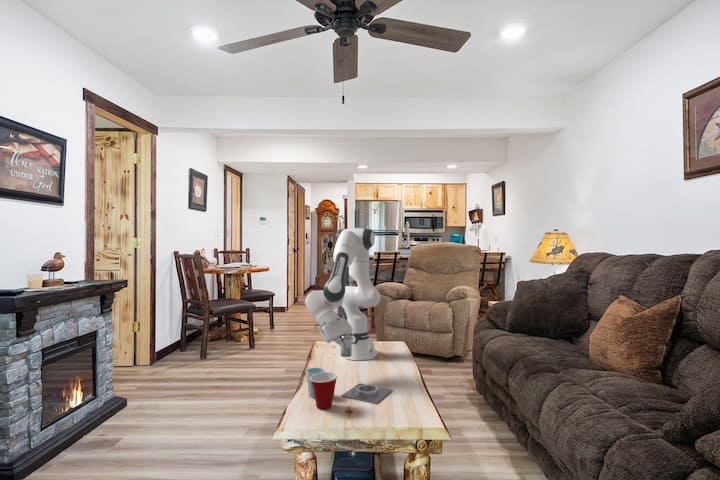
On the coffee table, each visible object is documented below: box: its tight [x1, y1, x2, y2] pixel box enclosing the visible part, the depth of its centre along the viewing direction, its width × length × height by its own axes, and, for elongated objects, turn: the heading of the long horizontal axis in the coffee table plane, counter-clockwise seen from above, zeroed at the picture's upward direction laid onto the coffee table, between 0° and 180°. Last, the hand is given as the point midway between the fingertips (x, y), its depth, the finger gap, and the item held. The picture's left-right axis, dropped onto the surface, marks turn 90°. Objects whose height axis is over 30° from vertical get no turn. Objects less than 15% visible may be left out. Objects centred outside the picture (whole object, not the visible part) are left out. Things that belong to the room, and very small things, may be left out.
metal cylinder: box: [340, 334, 352, 358], centre depth 183 cm, size 5×5×9 cm
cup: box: [305, 367, 326, 399], centre depth 166 cm, size 8×8×10 cm
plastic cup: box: [310, 371, 339, 411], centre depth 155 cm, size 11×11×12 cm
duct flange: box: [341, 383, 393, 405], centre depth 169 cm, size 16×16×2 cm
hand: (347, 344), depth 182 cm, fingers closed on metal cylinder, 5 cm apart
